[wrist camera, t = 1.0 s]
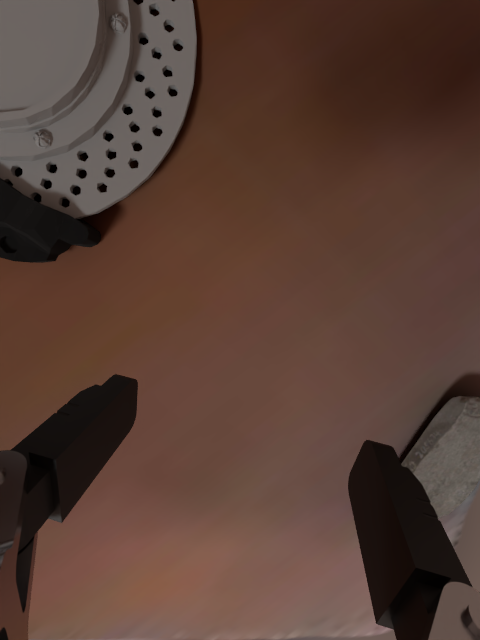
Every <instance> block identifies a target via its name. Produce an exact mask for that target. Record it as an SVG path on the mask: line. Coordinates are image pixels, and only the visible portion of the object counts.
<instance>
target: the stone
mask: <svg viewBox="0 0 480 640" xmlns="http://www.w3.org/2000/svg"><path fill="white" fill-rule="evenodd" d="M401 465H402V466H403V467H407V468H409V469H410V471H411V472H412V473H413V474H414V475H415V476H416V478H417V479H418V480H419V481H420V482H421V484H422V485H423V487H424V489H425V491H426V493H427V495H428V497H429V499H430V501H431V503H430V504H431V505H432V506H433V507H434V510H435V512H436V514H437V516H438V519H439V518H440V517H442V516H445V515H448V514H449V513H451V512H452V511H453V510H454V509H456V508H457V507H458V506H459V505H460V504H461V503H462V502H463V501H464V500H465V499H466V498H467V497H468V496H469V495H470V493H471V492H472V491H473V490H474V488H475V486H476V485H477V483H478V481H479V480H480V397H475V396H467V397H466V396H457V397H453V398H451V399H450V400H449V401H448V402H447V403H446V404H445V405H444V406H443V407H442V408H441V410H440V411H439V412H438V413H437V414H436V416H435V417H434V418H433V419H432V421H431V422H430V424H429V425H428V426H427V428H426V429H425V431H424V432H423V434H422V435H421V436H420V438H419V439H418V441H417V442H416V444H415V445H414V447H413V448H412V449H411V451H410V452H409V454H408V455H407V456H406V458H405V459H404V461H403V462H402V464H401Z"/></svg>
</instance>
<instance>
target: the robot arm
mask: <svg viewBox="0 0 480 640" xmlns="http://www.w3.org/2000/svg"><path fill="white" fill-rule="evenodd" d="M137 390H138V382H137V380H136V379H132V378H129V377H125V376H121V375H117V374H115V375H113V376H112V377H111V378H109V379H108V380H107V381H106V382H105V383H104V384H103V385H102V386H99V385H94V386H92V387H89V388H87V389H85V390H83V391H81V392H79V393H78V394H77V395H76V396H74V397H73V398H72V399H71V400H70V401H69V402H68V403H67V404H65V405H64V406H63V407H61V408H60V409H59V410H58V411H57V413H54V414H53V415H52V416H51V417H50V418H48V419H47V420H46V421H45V422H44V423H42V424H41V425H40V426H39V427H38V428H37V429H35V430H34V431H33V432H32V433H31V434H29V435H28V436H27V437H26V438H25V439H23V440H22V441H21V442H20V443H19V444H18V445H16V446H15V447H14V448H13V449H11V450H5V451H0V640H28V619H29V609H30V600H31V591H32V582H33V573H34V564H35V555H36V546H37V537H38V532H37V531H38V530H39V529H40V528H41V526H42V525H43V524H44V523H45V521H46V520H47V519H51V520H54V521H58V522H61V523H62V522H63V521H64V519H65V518H66V517H67V515H68V514H69V513H70V511H71V510H72V509H73V507H74V506H75V504H76V503H77V502H78V500H79V499H80V498H81V496H82V495H83V494H84V492H85V491H86V490H87V488H88V487H89V486H90V484H91V483H92V482H93V480H94V479H95V477H96V476H97V475H98V473H99V472H100V471H101V469H102V468H103V467H104V465H105V464H106V463H107V461H108V460H109V459H110V457H111V456H112V455H113V453H114V452H115V450H116V449H117V448H118V446H119V445H120V444H121V442H122V441H123V440H124V438H125V437H126V436H127V434H128V433H129V432H130V430H131V428H132V426H133V424H134V421H135V418H136V411H137ZM348 491H349V497H350V501H351V506H352V511H353V516H354V520H355V525H356V530H357V535H358V539H359V544H360V549H361V554H362V558H363V563H364V568H365V573H366V577H367V582H368V587H369V592H370V596H371V601H372V606H373V611H374V615H375V620H376V624H378V625H381V626H384V627H388V628H391V629H394V631H395V635H396V639H397V640H480V592H479V591H477V590H476V589H474V588H473V587H472V585H471V583H470V581H469V579H468V577H467V575H466V573H465V571H464V569H463V567H462V565H461V563H460V561H459V559H458V557H457V554H456V552H455V550H454V548H453V546H452V544H451V542H450V540H449V538H448V536H447V534H446V532H445V530H444V528H443V526H442V524H441V522H440V521H438V516H437V514H436V512H435V510H434V507H433V506H432V505H431V504H430V503H431V501H430V499H429V497H428V495H427V493H426V491H425V489H424V487H423V485H422V484H421V482H420V481H419V480H418V479H417V478H416V476H415V475H414V474H413V473H412V472H411V471H410V469H409V468H407V467H403V466H402V465H401V463H400V461H399V459H398V456H397V454H396V452H395V450H394V448H393V447H392V446H389V445H385V444H381V443H378V442H374V441H370V440H366V441H365V442H364V443H363V445H362V447H361V450H360V452H359V454H358V456H357V459H356V461H355V463H354V465H353V467H352V470H351V472H350V475H349V481H348Z"/></svg>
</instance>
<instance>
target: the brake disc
mask: <svg viewBox="0 0 480 640" xmlns="http://www.w3.org/2000/svg"><path fill="white" fill-rule="evenodd" d="M153 9H156V10H158V11H159V15H157V16H153V15H151V14H150V11H151V10H153ZM167 25H171V26H172V27H174V30H173V31H172V32H170V33H169V32H168V31H166V30H165V26H167ZM140 38H146V39H148V43H147V44H146V45H142V44H140V43H139V41H140ZM176 44H180V45H182V46H183V49H182V51H176V50H175V49H174V45H176ZM154 52H158V53H161V55H162V56H161V58H160V60H159V59H156V58H153V55H154ZM196 56H197V36H196V26H195V16H194V7H193V1H192V0H175V1H174V2H173V1H172V0H143V3H141V4H139V5H137V4H136V3H135V2H134V0H0V257H1V258H5V259H8V260H12V261H20V262H50V261H56V259H57V257H58V255H60V254H61V253H63V252H65V251H67V250H68V249H69V247H70V246H71V245H78V246H83V247H92V246H95V245H97V244H98V243H99V241H100V239H101V235H100V232H99V231H97V230H96V229H95V228H93V227H92V226H91V225H89V224H88V223H87V222H85V221H83V220H80V219H81V218H84V217H87V216H91V215H94V214H97V213H100V212H101V211H103V210H105V209H107V208H108V207H110V206H112V205H114V204H115V203H117V202H119V201H121V200H122V199H124V198H126V197H128V196H129V195H130V194H131V193H132V192H133V191H135V190H136V189H137V188H138V187H139V186H140V185H142V184H143V183H144V182H145V181H146V180H148V179H149V178H150V177H151V176H152V174H153V173H154V172H155V170H156V169H157V168H158V166H159V165H160V164H161V162H162V161H163V159H164V158H165V157H166V155H167V154H168V153H169V151H170V150H171V148H172V146H173V144H174V142H175V140H176V138H177V136H178V134H179V132H180V130H181V128H182V126H183V123H184V120H185V117H186V113H187V110H188V107H189V104H190V100H191V95H192V91H193V86H194V77H195V67H196ZM165 70H170V71H172V76H171V77H165V76H164V75H163V72H164V71H165ZM139 74H141V75H143V76H144V77H145V79H144V80H143V82H137V81H136V80H135V77H136V76H137V75H139ZM170 89H175V90H176V91H177V92H178V93H177V96H173V97H171V96H170V95H169V91H170ZM148 91H152V92H153V93H155V96H154V97H153V98H152V99H149V98H148V97H147V96H146V93H147V92H148ZM126 107H131V108H132V109H133V113H132V114H130V115H126V114H124V108H126ZM154 110H161V112H162V116H160V117H158V118H156V117H154V116H153V115H152V114H153V112H154ZM134 124H136V125H137V126H139V127H140V130H139V131H138V132H137V133H134V132H131V129H130V127H131V126H133V125H134ZM156 128H158V129H162V132H163V133H162V134H161V136H160V137H159V136H155V135H154V134H153V130H155V129H156ZM108 133H111V134H113V136H114V138H113V139H112V140H111V141H110V142H108V141H106V140H105V139H104V138H105V136H106V134H108ZM136 143H140V144H141V145H142V150H141V151H139V152H138V151H134V150H133V146H134V144H136ZM85 152H86V153H87V155H88V159H87V160H86V161H85V162H84V161H81V160H80V155H81V154H83V153H85ZM109 152H116V158H114V159H112V160H110V159H109V158H108V153H109ZM134 160H137V161H138V163H139V164H138V168H133V169H131V167H130V162H131V161H134ZM55 164H56V166H57V168H58V169H57V171H56V173H51V172H50V171H49V169H50V165H55ZM18 167H20V168H21V169H22V175H21V176H19V177H17V176H16V175H15V170H16V169H17V168H18ZM108 169H114V171H115V175H114V176H113V177H112V178H109V177H108V176H107V175H106V172H107V171H108ZM81 170H85V171H86V172H87V176H86V178H84V179H80V177H79V176H78V174H79V171H81ZM48 180H50V181H51V182H52V187H51V188H49V189H47V190H46V189H45V187H44V183H45V181H48ZM102 184H105V185H107V192H103V193H101V191H100V190H99V188H98V187H100V186H101V185H102ZM76 186H79V187H80V188H81V193H80V194H79V195H77V196H75V195H74V194H73V188H74V187H76ZM36 194H40V195H41V196H42V198H41V201H40V200H39V199H37V198H36V197H35V196H36ZM63 199H68V200H69V201H70V204H69V206H68V207H66V208H65V207H63V206H62V200H63Z"/></svg>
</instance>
